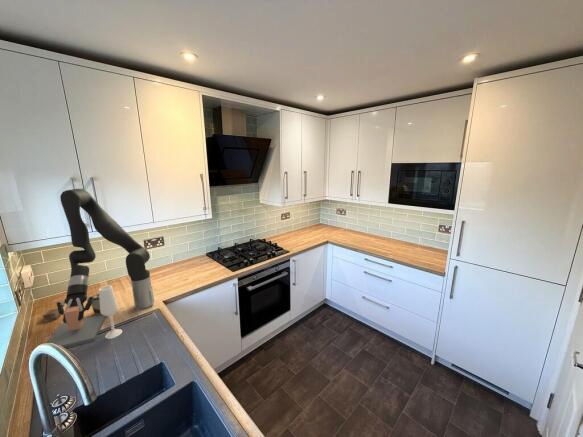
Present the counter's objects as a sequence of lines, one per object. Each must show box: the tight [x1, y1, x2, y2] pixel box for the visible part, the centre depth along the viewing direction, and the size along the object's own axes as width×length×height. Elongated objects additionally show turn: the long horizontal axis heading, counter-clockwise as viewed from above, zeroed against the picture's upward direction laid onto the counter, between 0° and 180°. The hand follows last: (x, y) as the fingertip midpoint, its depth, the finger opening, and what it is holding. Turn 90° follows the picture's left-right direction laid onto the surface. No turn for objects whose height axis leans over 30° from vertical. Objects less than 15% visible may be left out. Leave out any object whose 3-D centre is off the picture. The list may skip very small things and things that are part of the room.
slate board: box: [46, 314, 108, 349], centre depth 114 cm, size 18×20×2 cm
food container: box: [90, 293, 102, 315], centre depth 130 cm, size 12×6×10 cm, turn 92°
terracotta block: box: [64, 306, 83, 331], centre depth 112 cm, size 4×4×10 cm
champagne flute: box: [98, 285, 123, 339], centre depth 111 cm, size 7×7×24 cm
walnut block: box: [42, 308, 62, 323], centre depth 124 cm, size 5×5×4 cm
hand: (72, 321), depth 110 cm, fingers closed on terracotta block, 4 cm apart
